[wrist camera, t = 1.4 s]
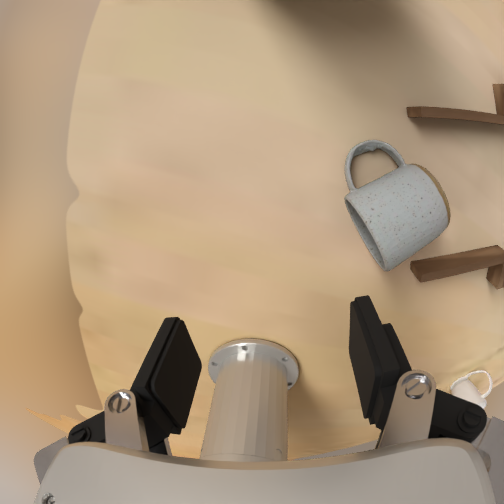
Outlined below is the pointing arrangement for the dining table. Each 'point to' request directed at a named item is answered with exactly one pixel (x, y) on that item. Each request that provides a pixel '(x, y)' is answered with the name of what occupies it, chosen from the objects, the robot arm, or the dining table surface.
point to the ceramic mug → (396, 208)
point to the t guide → (494, 257)
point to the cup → (470, 389)
